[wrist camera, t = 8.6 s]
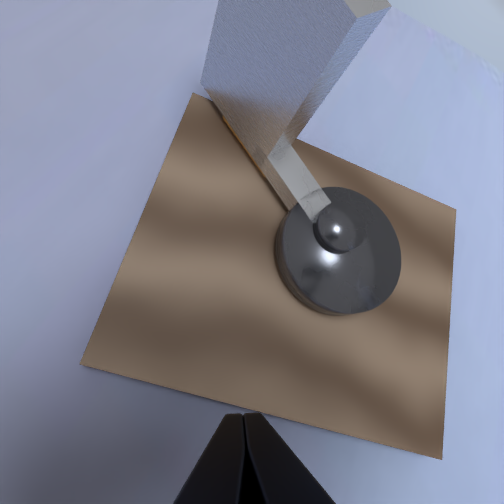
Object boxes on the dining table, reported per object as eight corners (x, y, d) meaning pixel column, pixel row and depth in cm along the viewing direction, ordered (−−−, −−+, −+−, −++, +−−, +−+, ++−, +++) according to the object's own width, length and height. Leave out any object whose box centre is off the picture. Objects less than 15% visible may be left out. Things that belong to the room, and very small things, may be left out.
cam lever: (405, 272, 24) (604, 211, 14) (325, 342, 21) (505, 330, 11) (257, 63, 25) (339, -138, 15) (160, 99, 22) (178, -125, 12)
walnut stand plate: (423, 453, 23) (442, 459, 22) (83, 363, 19) (79, 364, 17) (441, 216, 29) (456, 209, 28) (189, 107, 25) (192, 92, 23)
